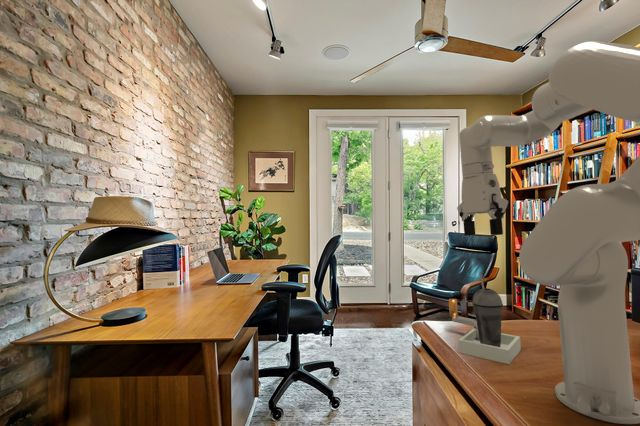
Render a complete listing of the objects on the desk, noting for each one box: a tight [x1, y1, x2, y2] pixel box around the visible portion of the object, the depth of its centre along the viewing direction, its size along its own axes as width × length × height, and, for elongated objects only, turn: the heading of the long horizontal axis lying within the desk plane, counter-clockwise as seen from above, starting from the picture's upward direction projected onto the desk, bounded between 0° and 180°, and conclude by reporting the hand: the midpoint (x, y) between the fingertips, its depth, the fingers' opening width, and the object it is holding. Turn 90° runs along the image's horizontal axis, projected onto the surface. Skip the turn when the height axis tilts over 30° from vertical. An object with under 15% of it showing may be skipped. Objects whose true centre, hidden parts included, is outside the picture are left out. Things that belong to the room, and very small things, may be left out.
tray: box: [458, 328, 522, 365], centre depth 82 cm, size 12×12×3 cm
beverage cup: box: [471, 271, 504, 347], centre depth 82 cm, size 7×7×20 cm
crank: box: [448, 298, 478, 329], centre depth 94 cm, size 13×5×7 cm, turn 35°
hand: (482, 234), depth 83 cm, fingers open, 9 cm apart
